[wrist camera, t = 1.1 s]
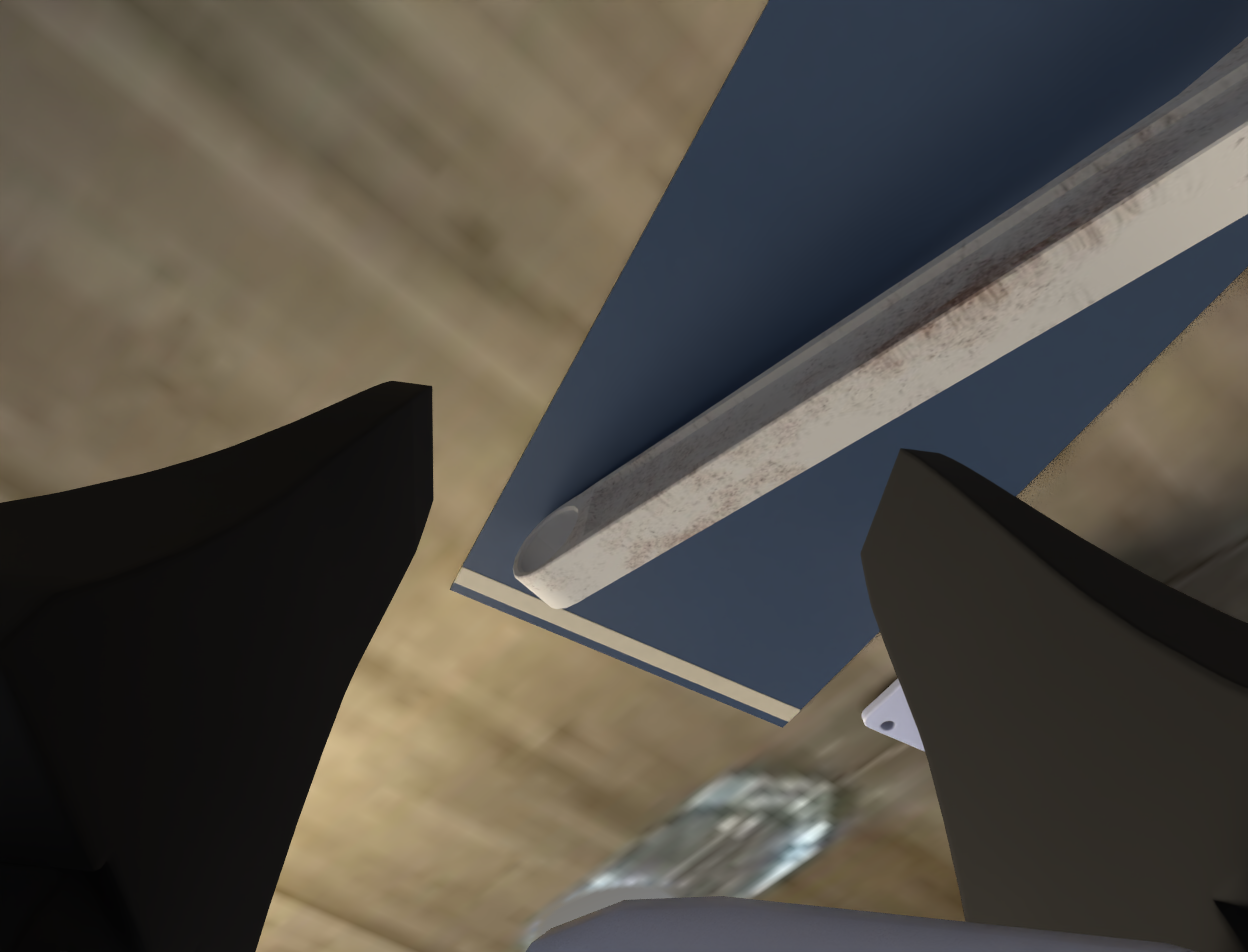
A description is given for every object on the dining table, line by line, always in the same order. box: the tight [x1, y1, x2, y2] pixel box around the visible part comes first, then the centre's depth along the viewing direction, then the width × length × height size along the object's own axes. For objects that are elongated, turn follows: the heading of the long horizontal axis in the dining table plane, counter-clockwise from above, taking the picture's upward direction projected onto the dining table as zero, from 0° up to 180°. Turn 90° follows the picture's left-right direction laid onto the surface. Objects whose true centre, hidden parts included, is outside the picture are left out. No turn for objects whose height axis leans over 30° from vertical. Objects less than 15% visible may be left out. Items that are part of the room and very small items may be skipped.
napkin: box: [450, 0, 1248, 727], centre depth 18 cm, size 14×34×1 cm, turn 152°
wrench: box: [513, 37, 1248, 609], centre depth 16 cm, size 8×2×30 cm
